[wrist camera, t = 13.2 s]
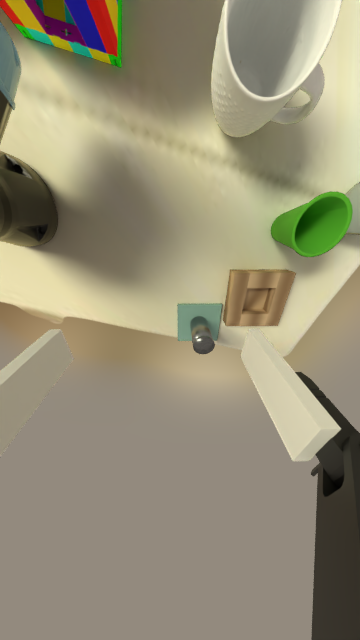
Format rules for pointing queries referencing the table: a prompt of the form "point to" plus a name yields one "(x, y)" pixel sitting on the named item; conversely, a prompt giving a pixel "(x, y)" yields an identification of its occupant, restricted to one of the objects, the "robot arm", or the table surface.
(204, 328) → the gray metal can
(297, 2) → the mug
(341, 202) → the cup
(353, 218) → the air freshener
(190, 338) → the mat
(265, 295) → the socket block
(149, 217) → the table surface
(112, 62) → the toy house
